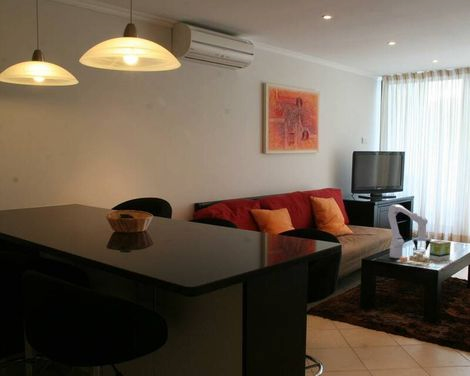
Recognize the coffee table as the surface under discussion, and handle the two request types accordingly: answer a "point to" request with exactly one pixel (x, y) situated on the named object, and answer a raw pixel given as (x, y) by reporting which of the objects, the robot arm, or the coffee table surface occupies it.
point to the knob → (403, 258)
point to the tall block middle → (419, 257)
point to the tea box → (439, 250)
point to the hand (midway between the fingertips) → (421, 249)
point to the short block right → (426, 260)
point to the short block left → (412, 258)
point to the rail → (414, 263)
